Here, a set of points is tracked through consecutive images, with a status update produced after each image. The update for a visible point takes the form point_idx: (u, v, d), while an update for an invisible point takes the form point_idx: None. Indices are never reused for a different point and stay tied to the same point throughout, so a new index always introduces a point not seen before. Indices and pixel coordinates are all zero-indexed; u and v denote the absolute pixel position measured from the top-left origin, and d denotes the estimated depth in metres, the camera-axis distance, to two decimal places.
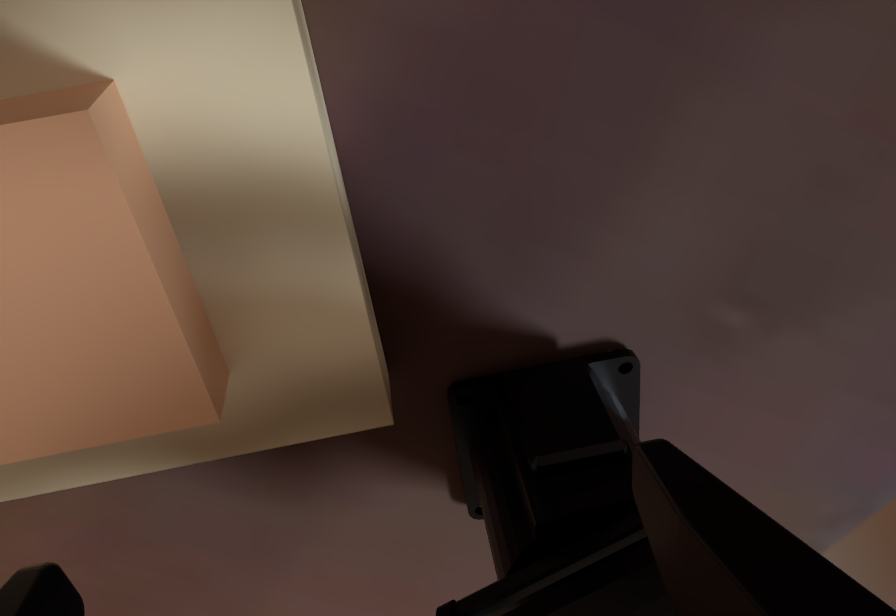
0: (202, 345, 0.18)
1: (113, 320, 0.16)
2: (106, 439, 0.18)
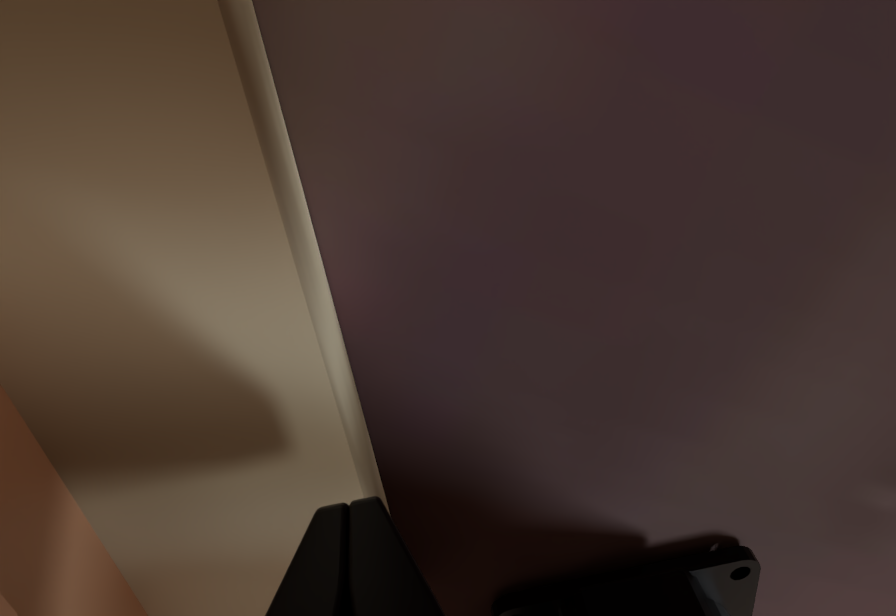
0: None
1: None
2: None
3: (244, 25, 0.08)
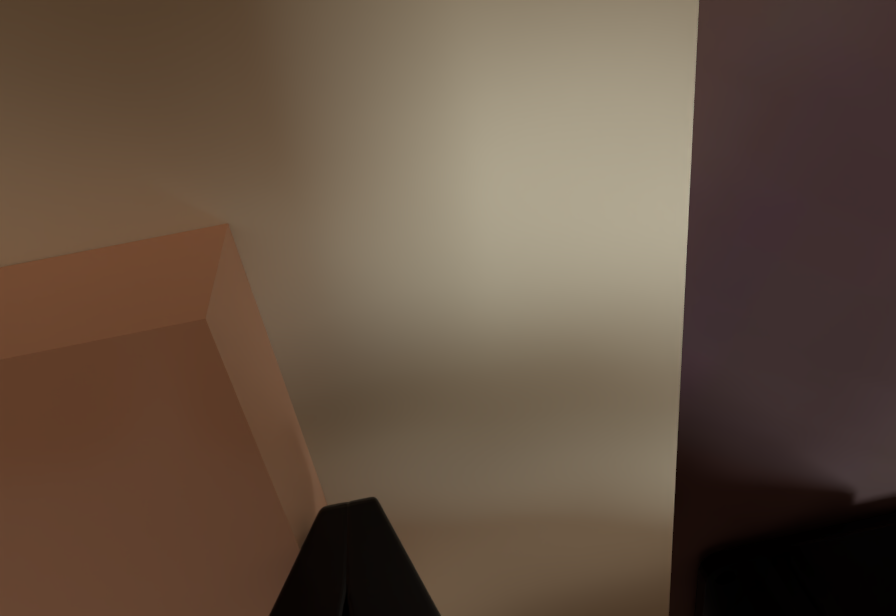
0: None
1: None
2: None
3: None
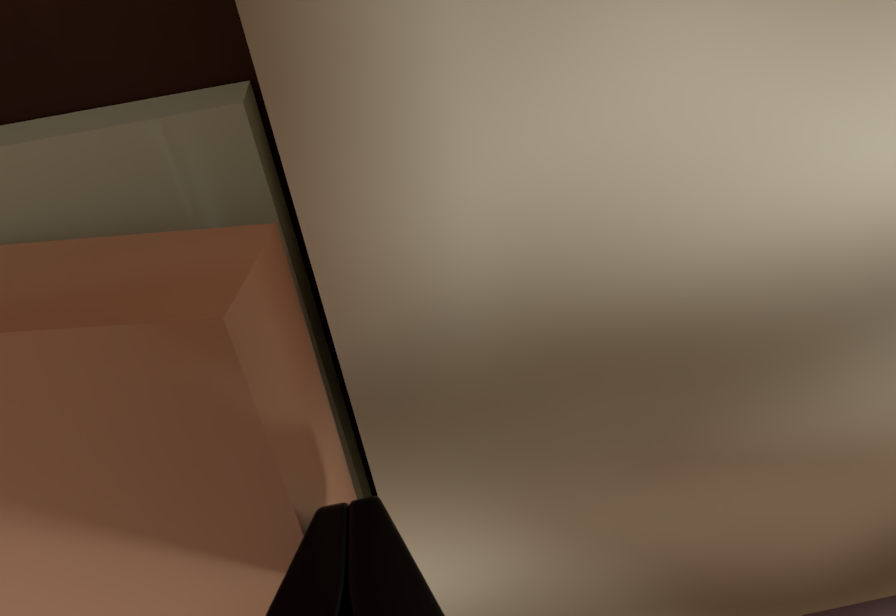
0: None
1: (232, 593, 0.10)
2: None
3: None
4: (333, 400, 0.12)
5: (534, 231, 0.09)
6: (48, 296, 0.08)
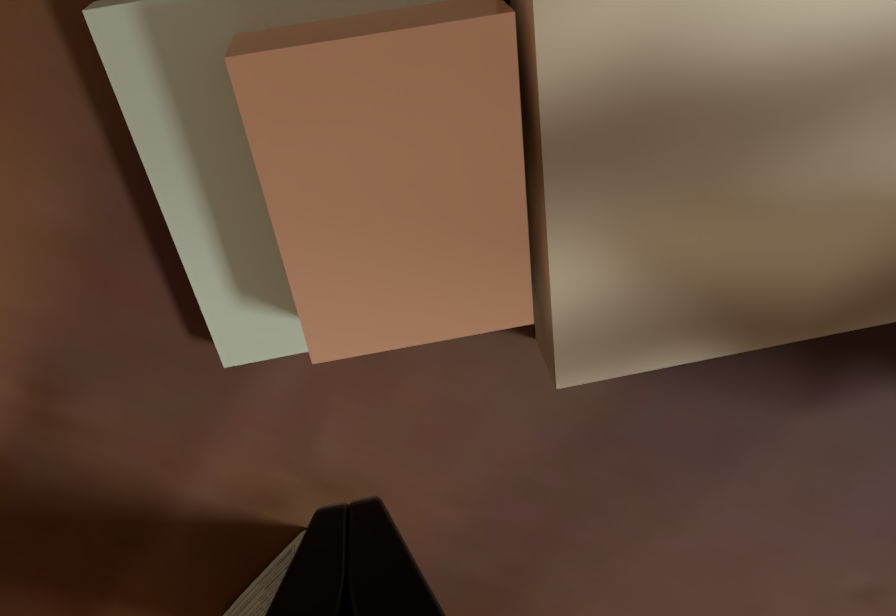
0: None
1: (473, 218, 0.17)
2: (431, 338, 0.19)
3: None
4: None
5: (660, 16, 0.16)
6: (403, 21, 0.15)
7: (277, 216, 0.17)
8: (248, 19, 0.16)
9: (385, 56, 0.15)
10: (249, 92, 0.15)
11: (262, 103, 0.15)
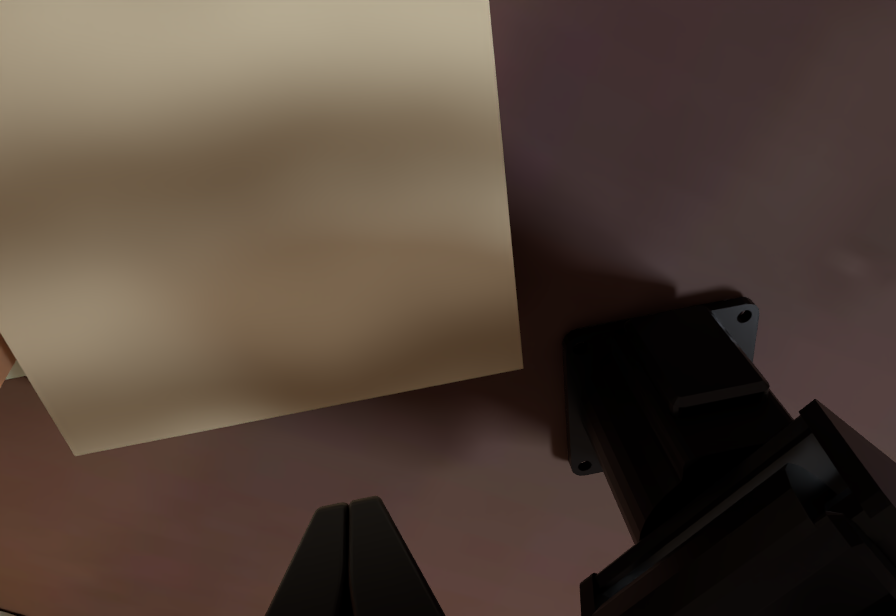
0: None
1: None
2: None
3: None
4: None
5: (2, 81, 0.15)
6: None
7: None
8: None
9: None
10: None
11: None
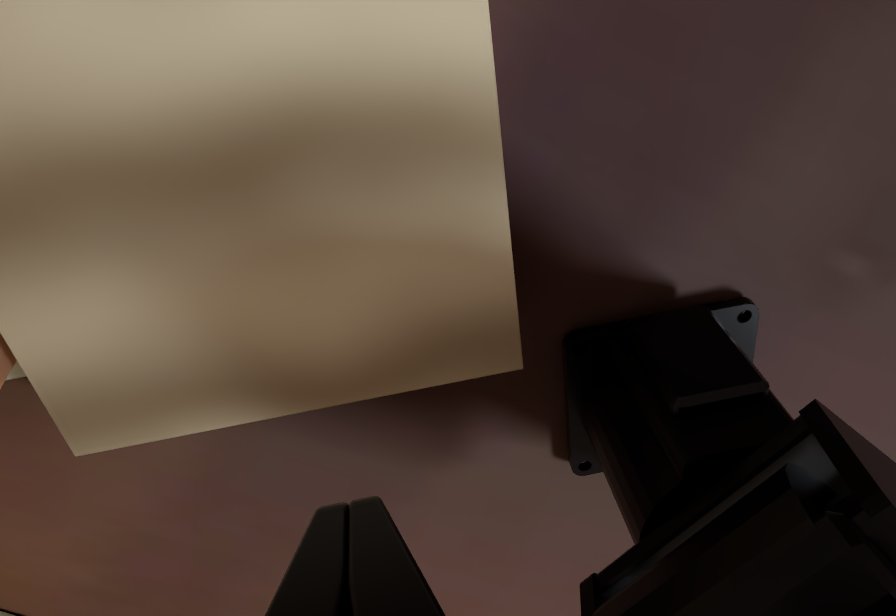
0: None
1: None
2: None
3: None
4: None
5: (2, 83, 0.15)
6: None
7: None
8: None
9: None
10: None
11: None
